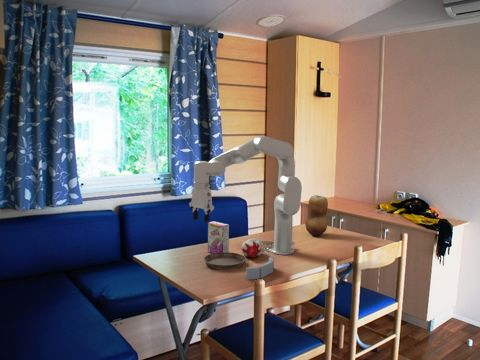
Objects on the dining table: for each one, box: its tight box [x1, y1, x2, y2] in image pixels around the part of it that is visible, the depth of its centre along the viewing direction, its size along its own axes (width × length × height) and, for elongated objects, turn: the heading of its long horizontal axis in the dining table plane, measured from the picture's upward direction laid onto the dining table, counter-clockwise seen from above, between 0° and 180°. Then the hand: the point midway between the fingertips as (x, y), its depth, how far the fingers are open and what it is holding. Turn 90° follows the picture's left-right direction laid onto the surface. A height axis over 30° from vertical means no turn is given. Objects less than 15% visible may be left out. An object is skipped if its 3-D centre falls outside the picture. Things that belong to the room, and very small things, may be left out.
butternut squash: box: [304, 194, 329, 237], centre depth 269 cm, size 14×13×25 cm
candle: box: [240, 238, 263, 258], centre depth 225 cm, size 9×11×15 cm
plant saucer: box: [203, 252, 247, 270], centre depth 214 cm, size 21×21×3 cm
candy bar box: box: [207, 220, 230, 254], centre depth 229 cm, size 11×5×16 cm, turn 51°
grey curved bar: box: [245, 256, 275, 281], centre depth 201 cm, size 21×5×5 cm, turn 144°
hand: (201, 220), depth 220 cm, fingers open, 6 cm apart
